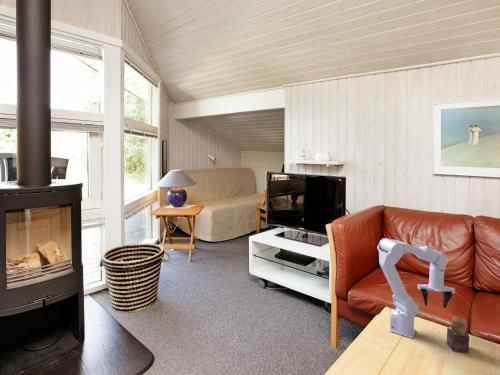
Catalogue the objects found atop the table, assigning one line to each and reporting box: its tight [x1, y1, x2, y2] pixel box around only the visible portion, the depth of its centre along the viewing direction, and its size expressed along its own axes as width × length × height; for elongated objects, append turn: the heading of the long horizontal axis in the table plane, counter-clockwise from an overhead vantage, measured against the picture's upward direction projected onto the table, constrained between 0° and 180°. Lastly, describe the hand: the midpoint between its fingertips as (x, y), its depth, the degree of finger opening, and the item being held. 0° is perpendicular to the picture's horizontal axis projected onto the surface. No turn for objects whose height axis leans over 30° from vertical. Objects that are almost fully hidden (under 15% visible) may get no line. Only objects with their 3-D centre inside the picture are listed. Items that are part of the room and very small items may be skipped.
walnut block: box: [451, 315, 467, 336], centre depth 129 cm, size 4×4×5 cm
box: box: [446, 326, 470, 354], centre depth 129 cm, size 6×6×7 cm
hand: (434, 305), depth 144 cm, fingers open, 7 cm apart
